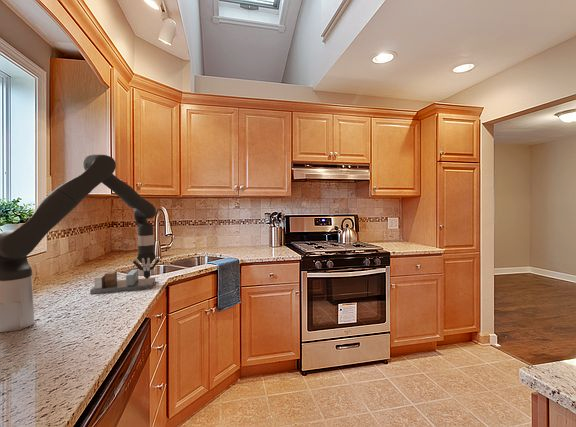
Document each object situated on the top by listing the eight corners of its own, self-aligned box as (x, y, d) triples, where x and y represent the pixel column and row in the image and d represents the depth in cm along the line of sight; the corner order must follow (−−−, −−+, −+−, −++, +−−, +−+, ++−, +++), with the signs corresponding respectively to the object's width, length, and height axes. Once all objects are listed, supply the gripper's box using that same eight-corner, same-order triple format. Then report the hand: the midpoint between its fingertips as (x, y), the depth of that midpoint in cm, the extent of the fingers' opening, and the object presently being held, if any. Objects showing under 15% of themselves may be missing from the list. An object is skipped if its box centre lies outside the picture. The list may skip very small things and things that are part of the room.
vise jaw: (133, 285, 146) (132, 274, 146) (126, 285, 145) (126, 275, 145) (138, 278, 158) (138, 269, 158) (132, 279, 157) (131, 269, 157)
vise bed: (151, 288, 148) (150, 274, 147) (90, 294, 141) (89, 279, 140) (155, 281, 161) (154, 268, 161) (100, 285, 154) (99, 272, 154)
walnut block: (114, 285, 147) (113, 273, 147) (105, 286, 146) (104, 273, 146) (117, 282, 152) (116, 270, 152) (108, 283, 151) (107, 271, 151)
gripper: (161, 242, 158) (162, 275, 159) (133, 243, 154) (134, 277, 155) (159, 244, 151) (160, 278, 151) (129, 245, 147) (131, 281, 148)
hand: (147, 277), depth 153 cm, fingers closed
